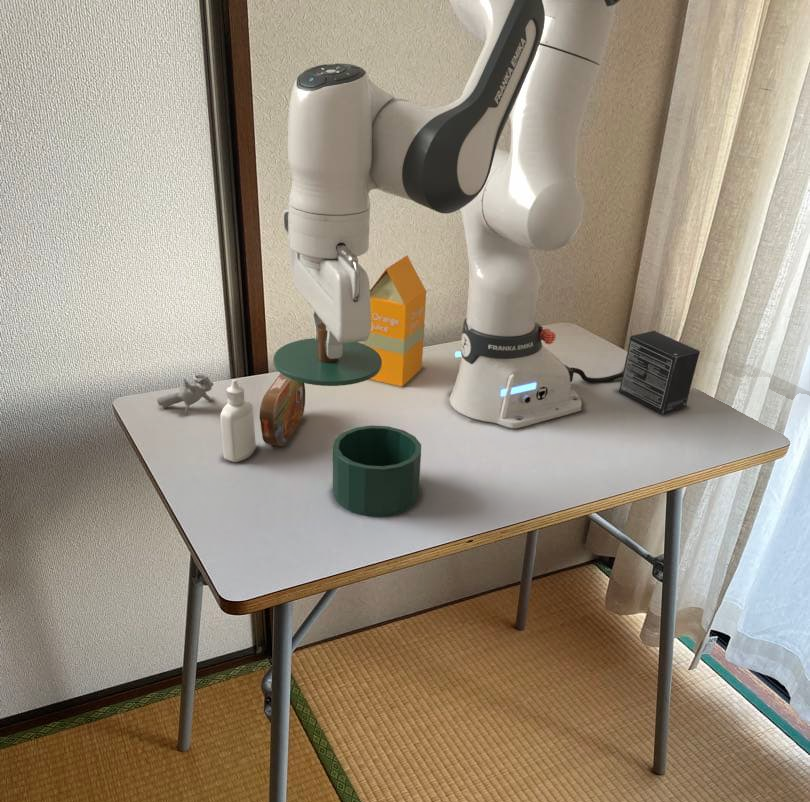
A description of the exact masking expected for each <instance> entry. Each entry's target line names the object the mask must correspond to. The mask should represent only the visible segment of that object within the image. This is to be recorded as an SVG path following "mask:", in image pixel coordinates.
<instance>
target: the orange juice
mask: <svg viewBox="0 0 810 802" xmlns="http://www.w3.org/2000/svg"><path fill="white" fill-rule="evenodd" d="M426 302H427V289H426V287H425V286H424V284H423V282H422V280H421V278H420V277H419V275H418V273H417V270H416V269H415V267H414V265H413V263H412V262H411V259H410V257H409V255H405V256H403V257H402V258H401V259H399V260H398V261H395V262H394V263H393V264H391V265H390V266H388V267H387V268H385V270H384V271H383V272H382V274H381V275H380V277H379V278H378V279H377V281H376V282H374V285H373V286H372V287H371V288H370V307H371V330H370V334H369V337H368V339H367V340H366V341H363V344H364V345H366V346H369V347H370V348H372V349H374V350H375V351H376V352H377V353H378V354H379V355H380V356H381V359H382V367H381V370H380V371H379V373H378V374H377V375H375V376H374V377H372V378H370V379H369V380H372V381H376V382H381V383H385V384H389V385H394V386H398V387H403V386H405V385H406V384H407V383H409V381H410V380H411V379H412V378H413V377H414V376H415V375H416V374H418V372H420V371H421V370H422V369H423V356H424V355H423V354H424V351H423V350H424V338H425V327H426V326H425V325H426V324H425V321H426V304H427V303H426Z"/></svg>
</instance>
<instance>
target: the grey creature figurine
mask: <svg viewBox="0 0 810 802" xmlns="http://www.w3.org/2000/svg"><path fill="white" fill-rule="evenodd" d="M196 373H197V372H196V371H194V373H193V376H192V379H193V381H194V383H196V384H190V383H189V382H188V381H187V379H186V378H184V379H183V384H184V385H183V386H180V388H179V391H178V392H174V393H171V394H170V393H169V394H166V395H163V396H160V397H159V396H156V402H157V404H158V406H159V407H162V409H166V408H168V407H171V406H173V405H175V404H179V403H183V402H184V404H185V411H184V413H183V415H186V413H187V411H188V409H189V407H190V406H192V405H193V404H195V403H198V401H200V400H201V399H203V398H204V399H205V400H206V401H211V397H210V396H209V395H208V394H207V392H210V391H211V390H212V388H213V386H214V383H213V382H212V381H211V380H210V378H209V377H208V376H205V375H204V374H201V373H197V375H196ZM197 384H198V385H197Z"/></svg>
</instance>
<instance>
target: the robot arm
mask: <svg viewBox="0 0 810 802" xmlns="http://www.w3.org/2000/svg"><path fill="white" fill-rule="evenodd" d="M448 1H449V3H450V6H451V8H452V10H453V12H454V14H455V15H456V17H457V19H458V20H459V22H460V23H461V24H462V26H463V27H464V28H465V30H467V32H468V33H469V34H471V35H472V36H473V37H475V38H476V39H477V40H479V41H481V42H482V43H483V44H484V45H483V47H482V49H481V51H480V54H479V56H478V58H477V60H476V62H475V65H474V67H473V69H472V71H471V74H470V75H469V78H468V80H467V81H466V85H465V87H464V89H463V92H462V93H461V95H460V97H459V98H457V100H455V101H453V102H451V103H448V104H444V105H440V106H435V105H430V104H429V105H428V104H424V103H419V102H415V101H411V100H408V99H403V98H399V97H395V95H393V94H390V93H389V92H386V91H385V90H383V89H382V88H380V87H378V86H377V85H376V84H374V82H373V81H372V80H370V78H369V76H368V73H367V71H366V70H365V69H364V68H363V67H361V66H358V65H356V64H351V63H350V64H349V63H340V62H339V63H338V62H337V63H325V64H324V63H323V64H319V65H316V66H312V67H309V68H307V69H305V70H304V71H303V72H301V73H300V74H298V76H297V77H296V78H295V80H294V83H293V86H292V90H291V94H290V100H289V107H288V116H287V117H288V119H287V121H288V122H287V161H288V166H289V169H290V173H291V189H290V193H289V195H288V196H289V197H288V209H285V210H283V213H282V225H283V229H284V231H286V233H287V246H288V255H289V256H288V257H289V258H288V259H289V269H290V275H291V280H292V283H293V286H294V287H295V288H296V290H297V291H298V292H299V294H300V295H301V296H302V297H303V298H304V300H305V301H306V303H307V304H308V305H309V307H310V312H311V317H312V321H313V326H314V338H315V340H316V341H317V326H318V325H319V324H321V323H324V324H325V325H326V330H327V331H328V333H327V340H324V346H325V349H324V351H325V353H326V355H327V356H328V358H330V359H335V358H340V357H341V356H342V349H343V343H352V342H358V343H361V342H364V341H366V340H367V339H368V337H369V334H370V330H371V307H370V290H371V287H370V279H369V276H368V272H367V271H366V270H365V268H363V266H362V265H361V264H360V263H359V258H358V257H359V256H362V255H365V253H367V252H368V251H369V248H370V221H371V219H370V218H371V199H370V195H369V193H370V192H371V191H372V190H378V191H381V192H383V193H385V194H388V195H392V196H396V197H399V198H402V199H406V200H410V201H412V202H414V203H416V204H418V205H421V206H423V207H425V208H428V209H430V210H432V211H434V212H437V213H439V214H445V215H446V214H453V213H455V212H457V211H459V212H460V215H461V219H462V224H463V231H464V236H465V237H464V238H465V244H466V252H467V260H468V272H469V273H468V274H469V276H468V291H467V292H468V294H467V306H466V309H467V310H466V317H465V319H464V320H463V324H462V333H461V339H460V351H455V353H454V356H455V358H460V364H459V368H458V372H457V376H456V380H455V383H454V386H453V387H452V388H453V389H452V391H451V393H450V396H449V400H448V401H449V404H450V406H451V407H452V408H453V409H454V410H455V411H457V413H459V414H461V415H463V416H465V417H468V418H471V419H474V420H477V421H482V422H487V423H492V424H493V423H494V424H498V425H499V426H503V427H506V428H510V429H519V428H523V427H527V426H530V425H534V424H538V423H541V422H545V421H550V420H552V419H557V418H560V417H563V416H567V415H570V414H575V413H578V412H581V411H582V408H583V407H582V406H583V405H582V404H583V403H582V398H581V397H580V395H579V394H578V393H577V391H576V390H575V389H573V388H572V387H571V383H572V382H573V379H574V374H576V375H579V376H580V378H581V379H582V381H584V382H587V383H591V384H595V383H607V382H612V381H615V380H618V379H622V376H623V371H624V369H623V370H622V371H621V372H619V373H616V374H612V375H609V376H603V377H589V376H587V375H586V373H585V372H584V370H582V369H580V368H577V367H570V366H568V365H566V364H564V363H563V362H562V361H561V359H560V358H558V357H557V356H556V355H554V353H552V352H551V351H550V350H549V349H548V348H547V347H545V346H544V345H543V343H542V341H543V342H544V343H545V344H546V345H552V344H554V342H555V341H556V338H557V336H556V333H555V332H554V331H551V330H550V329H549V328H544V327H543V325H541V324H539V323H538V322H536V320H537V314H538V306H539V299H540V294H541V293H540V291H541V285H542V284H541V274H540V271H539V268H538V267H537V264H536V262H535V259H534V256H533V251H532V250H535V251H544V252H553V251H556V250H559V249H561V248H563V247H565V246H566V245H567V244H568V243H569V242H571V240H572V239H574V237H575V236H576V235H577V232H578V231H579V229H580V227H581V224H582V221H583V218H584V211H585V210H584V209H585V206H584V204H585V203H584V198H583V195H582V193H581V191H580V187H579V183H578V176H577V175H578V172H577V165H578V164H577V161H578V160H577V159H578V158H577V157H578V147H579V139H580V133H581V128H582V124H583V119H584V116H585V113H586V109H587V106H588V103H589V100H590V97H591V95H592V91H593V88H594V85H595V82H596V79H597V77H598V73H599V71H600V67H601V65H602V61H603V58H604V56H605V52H606V49H607V46H608V42H609V39H610V34H611V31H612V26H613V22H614V18H615V17H614V16H615V12H616V6H617V4H618V3H619V2H620V1H621V0H448ZM508 120H510V147H509V148H510V149H509V151H508V150H505V149H501V148H497V146H498V144H499V140H500V139H501V136H502V133H503V131H504V129H505V126H506V124H507V122H508Z"/></svg>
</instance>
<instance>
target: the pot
mask: <svg viewBox="0 0 810 802" xmlns="http://www.w3.org/2000/svg"><path fill="white" fill-rule="evenodd" d="M421 458H422V443H421V442H420V441H419V440H418V438H417V437H416V436H415V435H413V434H411V433H409V432H407V431H406V430H404V429H401V428H396V427H393V426H386V425H373V424H372V425H365V426H364V425H363V426H356V427H353V428H350V429H348V430H346V431H342V433H340V434H339V435H337V437H336V438H334V439H333V446H332V493H333V497H334V499H335V501H336V502H337V503H338V504H339V505H340V506H341V507H342V508H343V509H344V510H348V511H349V512H352V513H355V514H358V515H362V516H368V517H387V516H393V515H397V514H401V513H404V512H406V511H407V510H409V509H411V508H412V507H413V506H414V505H415V504H416V503H417V501H418V498H419V494H420V493H419V492H420V491H419V490H420V476H421V475H420V474H421V461H422V459H421Z"/></svg>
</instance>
